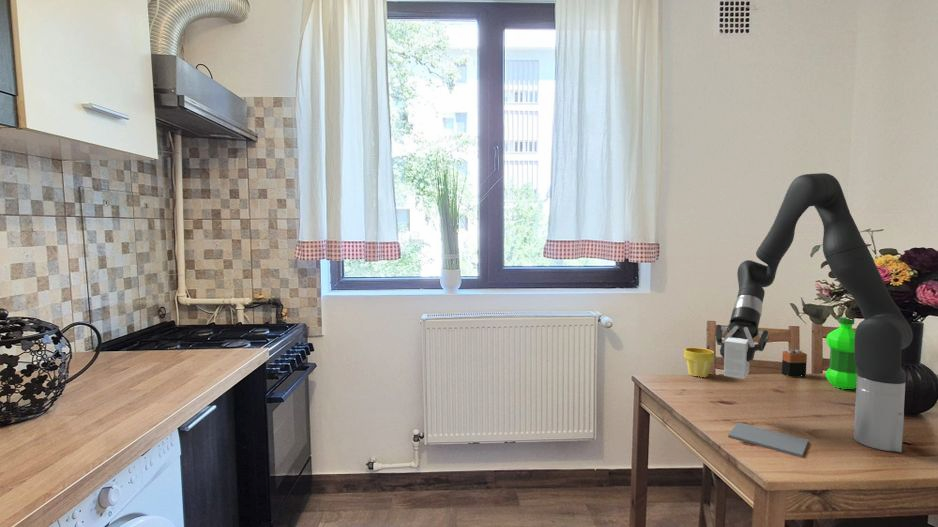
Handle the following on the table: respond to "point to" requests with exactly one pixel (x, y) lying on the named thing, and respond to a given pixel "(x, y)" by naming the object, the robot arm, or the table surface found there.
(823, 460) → the table surface
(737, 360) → the small box
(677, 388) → the table surface
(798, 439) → the mat
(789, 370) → the battery
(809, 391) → the table surface
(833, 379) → the plastic bottle
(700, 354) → the plant pot
